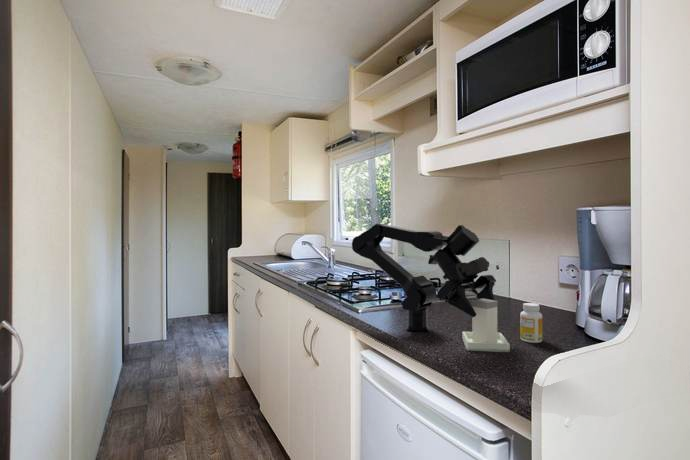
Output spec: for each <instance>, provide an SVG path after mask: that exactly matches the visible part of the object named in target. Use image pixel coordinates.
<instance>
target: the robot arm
mask: <svg viewBox="0 0 690 460" xmlns="http://www.w3.org/2000/svg"><path fill="white" fill-rule="evenodd" d="M384 238H386V239H390V240H391V239H392V240H395V241H398V242H403V243H407V244H410V245H412V246H413V247H414V248H416V249H418V250H420V251H422V252H425V253H427V252H435V253H434V254H430V255H429V259H428V261H427V263H428V265H438V267H439V268H440V270H441V271H442V273H443V276H442V278H443V279H444V280H445V282H444V283H442V285H441V286H440V287H439V288H438V290H437V288H436V287H435V286H434V285H433V284H434V282H432V281H430V280H429V279H427V278H426V277H425V275H423V274H422V275H418V276H414V275H412V273H410V272H409V271H408V270H407V269H406V268H404V267H403V266H402V265H401V264H399V262H397V260H395V259H394V258H392V257H391V256H390V255H389V254H388V253H386V252H385V251H384V250H383V248H382V246H381V243H382V242H383V240H384ZM479 239H480V238H479V237H478V236H477V235H476V233H475V232H472V230H470V229H468V228H466V227H465V226H464V225H463V224H461V225H460V224H459V225H458V226H457V227H456V228H455V229H454V231H453V232H452V233H451V234H450V235H449V236H446V235H443V233H442V232H440V231H436V230H435V231H433V230H424V231H423V230H419V231H417V230H413V229H407V228H403V227H400V226H399V227H398V226H394V225H389V224H387V223H376V224H373V226H371V227H370V228H369V229H367V230H365V231H363V232H362V233H360V234H359V235H357V236H355V237H353V239H352V242H351V249H352V252H354V253H355V254H357V255H359V256H360V257H363V258H365V259H368V260H371V261H372V262H374V264H375V265H376V266H378V267H379V268H380V269H381V270H382V271H384V272H385V273H386V274H387V275H388V276H389V277H390V278H392V280H394V281H395V282H396V283H397V284H398V285H400V287H402V289H403V292H404V295H405V296H406V297H405V298H404V299H403V300H402V301H401V307H402V309H403V310H405V311H407V323H406V329H405V330H406V331H408V332H409V331H410V332H412V331H413V332H429V331H430V328H429V324H428V308H429V307H432V305H433V302H434V301H435V300H436V299H437V298H438V300H439V301H440V302H445V304H449V305H451V306H453V307H455V308H457V309H459V310H461V311H462V312H464V313H465V314H467V315H469V316H470V317H471V318H472V317H475V316H476V313H475V311H474V309H473V307H472V303H471V302H470V301H469V299H468V297H467V296H466V292H467V291H470V290H471V291H472V293H474V294H475V297H476V298H477V299H482V298H484V299H489V300H495V301H496V299H495V296H494V292H493V289H494V287H495V284H496V283H497V280H496V278H495V277H494V275H492V274H484V275H482V274H481V273H483V272H487V271H489V267H490V262H489V261H488V260H487V258H485V257H484V256H481V257H479V258H475V259H473V260H471V261H469V262H462V260H461V259H460V258H459V257H458V256H463V257H465V256H466V255H467V254H468V253H469V252H470V251H472V249H473V248H474V247H475V246H476V245H477V244H478V243H480V240H479ZM479 274H481V275H480V276H479ZM475 279H476V280H475ZM498 311H499V308H498V307H497V312H498Z"/></svg>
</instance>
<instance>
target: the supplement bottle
mask: <svg viewBox="0 0 690 460" xmlns="http://www.w3.org/2000/svg"><path fill="white" fill-rule="evenodd" d="M522 308H523V311H521V312H520V314H519V315H520V316H519V318H520V319H519V320H520V321H519V322H520V325H519V326H520V333H519V334H520V336H519V337H520V340H521V341H523V342H525V343H532V344H538V343H542V341H543V314H542V313H541V312H540V304H539V303H536V302H535V303H534V302H524V303H522Z"/></svg>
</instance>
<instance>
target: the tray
mask: <svg viewBox="0 0 690 460" xmlns="http://www.w3.org/2000/svg"><path fill="white" fill-rule="evenodd" d="M461 336H462V341H463V344H464V346H465V348H466V351H469V352H490V353H491V352H492V353H493V352H494V353H495V352H496V353H511V347H510V346H511V345H510V342H508V340H507V338H506V337H505V336H504V335H503V334H502V332H497V343H483V342H472V331H462V335H461Z"/></svg>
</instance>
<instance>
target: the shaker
mask: <svg viewBox="0 0 690 460" xmlns="http://www.w3.org/2000/svg"><path fill="white" fill-rule="evenodd" d="M498 302H499V301H498V300H496V299H495V300H489V299H484V298H482V299H478V298H477V299H473V300H471V306H472V307H473V309H474V311H475V313H476V316H475V317H472V316H471V319H472V320H471V321H472V322H471V323H472V324H471V325H472V330H471V332H472V342H483V343H497V333H498V311H497V307H498V305H499V304H498Z"/></svg>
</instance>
